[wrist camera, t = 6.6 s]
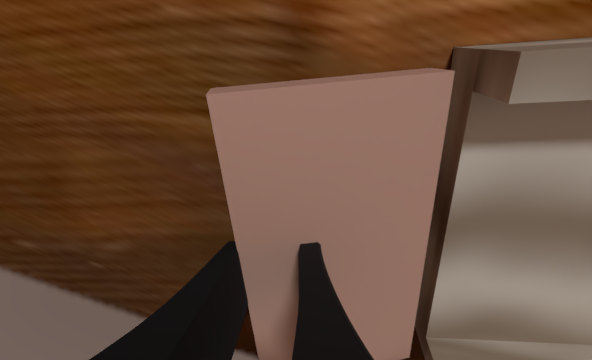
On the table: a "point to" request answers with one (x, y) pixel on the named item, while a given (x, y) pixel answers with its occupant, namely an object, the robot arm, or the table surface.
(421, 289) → the tray
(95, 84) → the table surface
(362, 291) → the panel
